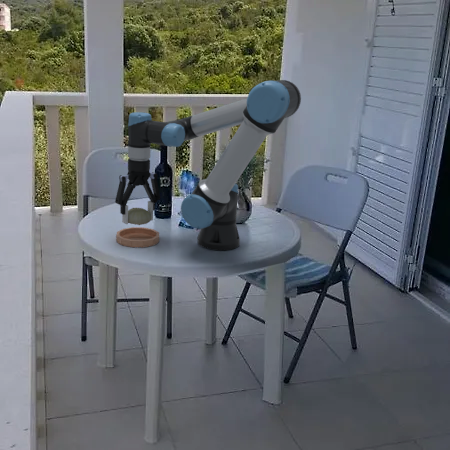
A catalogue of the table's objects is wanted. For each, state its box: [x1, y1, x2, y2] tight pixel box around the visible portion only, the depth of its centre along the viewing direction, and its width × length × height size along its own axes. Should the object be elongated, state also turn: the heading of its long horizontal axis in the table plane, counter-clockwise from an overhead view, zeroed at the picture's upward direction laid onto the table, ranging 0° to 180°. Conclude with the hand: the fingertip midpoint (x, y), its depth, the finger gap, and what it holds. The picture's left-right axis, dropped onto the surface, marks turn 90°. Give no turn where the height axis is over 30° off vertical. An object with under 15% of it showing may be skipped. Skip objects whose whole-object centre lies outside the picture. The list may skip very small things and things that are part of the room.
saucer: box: [115, 226, 160, 249], centre depth 204 cm, size 15×15×2 cm
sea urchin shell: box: [128, 207, 151, 226], centre depth 202 cm, size 9×8×8 cm
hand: (137, 221), depth 202 cm, fingers closed on sea urchin shell, 9 cm apart
